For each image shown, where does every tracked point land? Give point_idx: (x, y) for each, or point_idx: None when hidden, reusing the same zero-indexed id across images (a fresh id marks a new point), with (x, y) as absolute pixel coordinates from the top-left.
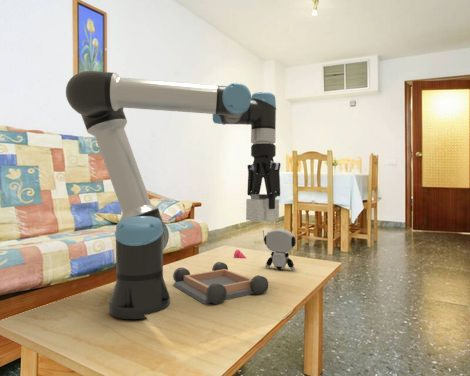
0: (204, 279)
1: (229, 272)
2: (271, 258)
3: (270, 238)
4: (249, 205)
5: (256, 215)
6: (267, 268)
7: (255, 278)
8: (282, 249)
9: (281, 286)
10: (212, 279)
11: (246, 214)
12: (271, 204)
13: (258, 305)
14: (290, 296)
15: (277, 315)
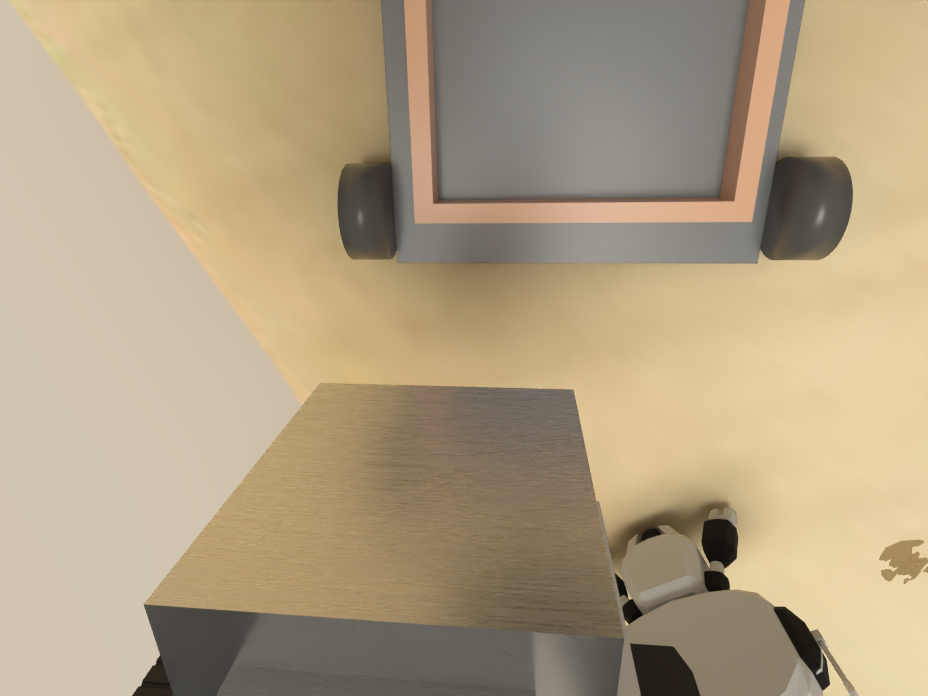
0: (743, 39)
1: (664, 201)
2: (710, 557)
3: (754, 655)
4: (489, 520)
5: (320, 420)
6: (716, 508)
7: (355, 188)
8: (648, 622)
9: (423, 364)
10: (706, 89)
11: (575, 428)
12: (144, 681)
13: (240, 97)
14: (283, 299)
15: (102, 92)
